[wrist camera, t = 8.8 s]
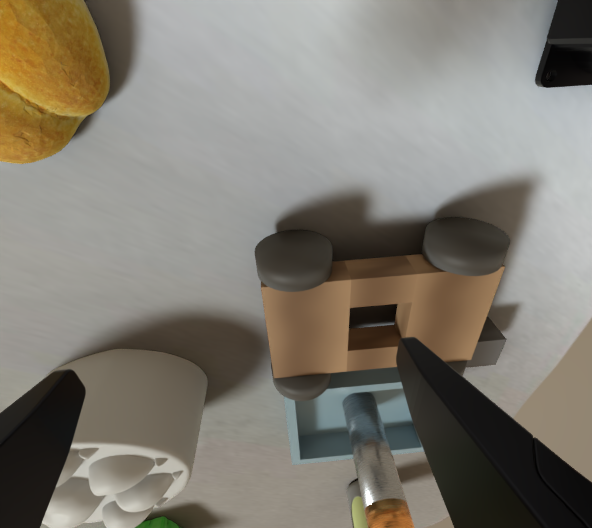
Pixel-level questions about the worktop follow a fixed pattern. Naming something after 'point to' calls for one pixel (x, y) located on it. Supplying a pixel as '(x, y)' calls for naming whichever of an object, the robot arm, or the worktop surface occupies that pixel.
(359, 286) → the dolly
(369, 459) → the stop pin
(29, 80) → the bread roll
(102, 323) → the worktop surface
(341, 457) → the tray
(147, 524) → the fruit basket
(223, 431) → the worktop surface
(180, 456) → the lumpy-topped squat cylinder
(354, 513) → the grey and yellow cylinder
